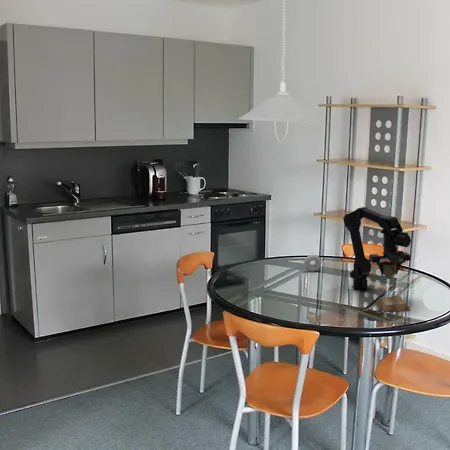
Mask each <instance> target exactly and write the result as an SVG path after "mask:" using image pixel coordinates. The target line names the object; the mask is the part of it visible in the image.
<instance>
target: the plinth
mask: <svg viewBox="0 0 450 450" xmlns="http://www.w3.org/2000/svg"><path fill="white" fill-rule="evenodd" d="M375 303H376V304H377V306H378V307H379V308H380V310H381V311H382V312H383V313H389V312H405V311H407V312H408V311H410V308H411V307H410V306H409V305H408V304H407V302H406V301H404V299H403V298H402V297H400V296H385V297H384V296H383V297H378V299H376V300H375Z"/></svg>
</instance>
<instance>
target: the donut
mask: <svg viewBox="0 0 450 450" xmlns="http://www.w3.org/2000/svg"><path fill="white" fill-rule="evenodd" d="M312 261H314V264H313V265H311V262H312ZM321 265H322V259H321V257H320V256H319V255H316V254H309V255H307V256H306V257H305V258H304V261H303V266H304V268H305V269H306V270H307V271H309V272H312V273H313V272H317V271H318V270H319V269H320V268H321Z"/></svg>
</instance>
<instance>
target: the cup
mask: <svg viewBox="0 0 450 450" xmlns="http://www.w3.org/2000/svg"><path fill="white" fill-rule="evenodd" d="M382 262H383V276H384V277H385V279H387V280H392V279H394V276H395V275H396V274H395V273H396V270H397V264H398V263H397V262H392V263H391V262H389V260H382Z"/></svg>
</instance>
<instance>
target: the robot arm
mask: <svg viewBox="0 0 450 450" xmlns="http://www.w3.org/2000/svg"><path fill="white" fill-rule="evenodd" d="M364 218H365V219H367V220H369V221H371V222H374V223H376V224H377V225H378V226H379V228H381V229H382V230H381V231H379V233H380V234H383V244H382V247H383V252H382V255H379V254H378V253H371V254H369V255H368V259H367V258H366V255H365V250H364V245H363V240H362V236H361V231H360V228H361V225H362V219H364ZM343 223H344V227H345V228H346V229H347V230H348V231H349V234H350V240H351V245H352V249H353V254H354V262H353V269H352V270H351V272H350V273H349V276H350V278H352V286H351V288H352V289H353V290H354V291H367V290H368V278H367V277H369V276H370V273H371V272H372V268H373V267H372V264H371V263H373V264H377V266H378V268H379V271H380V275H381V276H384V273H383V261H389V262H391V263H392V262H397V263H398V264H397V270H396V273H395V275H398V273H399V270H400V268H401V266H402V265H403V264H404V263H406V262H408V261H409V262H410V261H411V255H410V254H409V253H408V252H405V251H403V250H399V251H398V247H403V248H408V247H409V246H410V245H411V243H412V238H411V236H410V235H409V233H408V232H407V231H406V232H405V231H404V229H403V228H402V226H401V224H400V221H399V219H398V218H397V217H396V216H391V215H384V214H381V213H380V212H379V213H378V212H376V211H373V210H371V209H369V208H368V207H366V206H362V207H361V206H360V207H358V208H356V209H354V210H353V211H350V212H349V213H347V214H345V215H344V216H343ZM397 246H398V247H397Z"/></svg>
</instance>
